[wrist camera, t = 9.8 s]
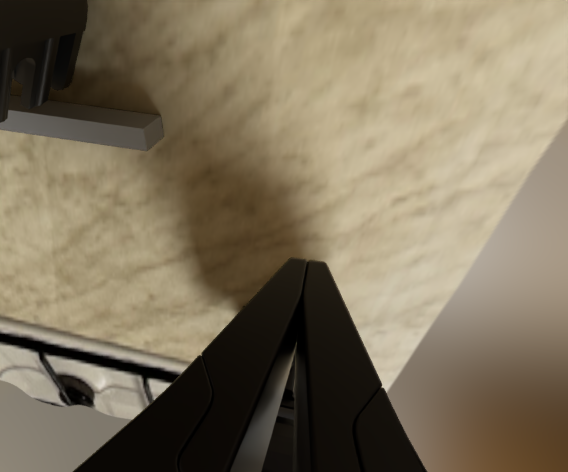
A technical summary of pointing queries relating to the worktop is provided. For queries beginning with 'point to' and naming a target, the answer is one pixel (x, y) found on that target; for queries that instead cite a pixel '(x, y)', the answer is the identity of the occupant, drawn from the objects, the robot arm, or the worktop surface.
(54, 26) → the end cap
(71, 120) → the frame
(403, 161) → the worktop surface
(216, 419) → the robot arm
